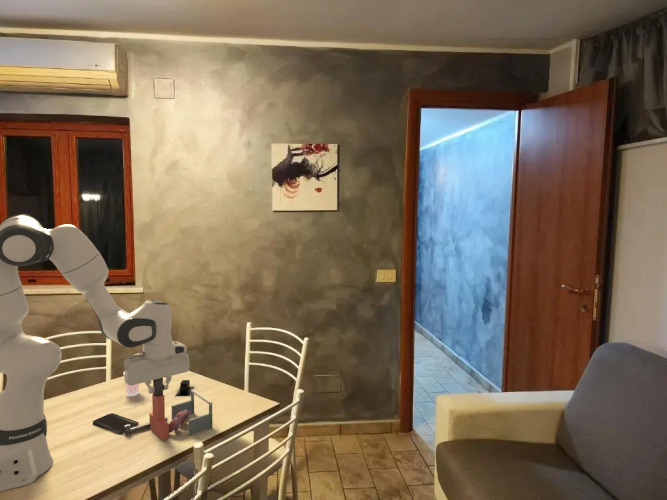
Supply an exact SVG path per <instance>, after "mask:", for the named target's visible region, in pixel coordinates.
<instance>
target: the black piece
mask: <svg viewBox="0 0 667 500" xmlns="http://www.w3.org/2000/svg"><path fill="white" fill-rule="evenodd" d="M190 381H191V380H190V379H182V380H181V382H180V384H179V388H178V391H177V393H176V394H175V397H191V389H195V386H191V382H190Z"/></svg>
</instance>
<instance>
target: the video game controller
mask: <svg viewBox="0 0 667 500" xmlns="http://www.w3.org/2000/svg"><path fill="white" fill-rule="evenodd" d="M191 415H192V414H191V412H190V411H188V410H184V411H181V412H179V413H177V415H176V417H175V418H174V419H173V420H172V419H171V421H170V422H168V423H169V434H170V433H172V432H177V431H178V430H179V429H180V428H182V427H183V426H185V424H186V422H187V421H188V420H189V418H190V417H191Z"/></svg>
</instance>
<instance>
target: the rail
mask: <svg viewBox="0 0 667 500" xmlns="http://www.w3.org/2000/svg"><path fill="white" fill-rule="evenodd" d="M164 420H166V421H167V422H168V423H169V421H168V420H169V419H168V417H167V416H166V417H165V419H164ZM147 429H151V428H150V421H149V422H146V423H144V424H139V426H136V427H133V428H130V424H128V425H125V426H124V433H123V435H124V436H128V435H132V434H135V433H137V432H140V431H144V430H147Z"/></svg>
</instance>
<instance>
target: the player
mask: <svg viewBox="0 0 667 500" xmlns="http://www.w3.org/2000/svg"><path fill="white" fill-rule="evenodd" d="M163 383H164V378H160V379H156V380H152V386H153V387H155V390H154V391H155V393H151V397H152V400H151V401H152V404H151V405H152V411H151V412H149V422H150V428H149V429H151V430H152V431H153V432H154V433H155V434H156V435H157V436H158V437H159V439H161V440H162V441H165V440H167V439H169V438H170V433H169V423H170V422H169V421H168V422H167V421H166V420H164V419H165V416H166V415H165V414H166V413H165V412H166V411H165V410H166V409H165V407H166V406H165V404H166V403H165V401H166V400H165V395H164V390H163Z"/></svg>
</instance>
